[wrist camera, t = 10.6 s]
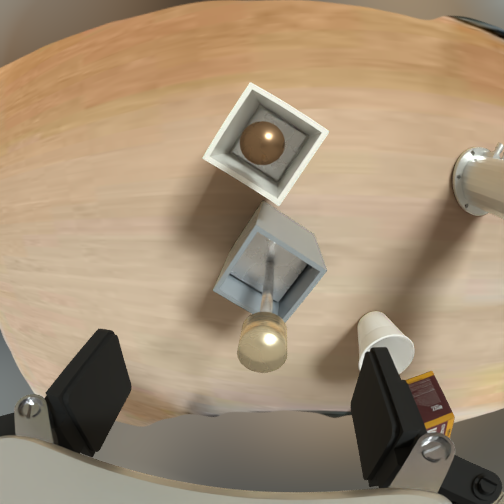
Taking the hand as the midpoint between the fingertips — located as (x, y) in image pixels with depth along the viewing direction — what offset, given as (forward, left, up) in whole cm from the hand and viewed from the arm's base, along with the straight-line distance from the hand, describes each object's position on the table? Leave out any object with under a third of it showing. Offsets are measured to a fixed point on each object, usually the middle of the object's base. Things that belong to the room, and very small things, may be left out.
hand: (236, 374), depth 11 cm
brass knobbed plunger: (+7, +5, -31) cm, 32 cm away
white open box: (-7, -4, -40) cm, 41 cm away
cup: (+9, +30, -41) cm, 51 cm away
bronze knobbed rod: (-7, -4, -39) cm, 40 cm away
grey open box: (+7, +5, -40) cm, 41 cm away
